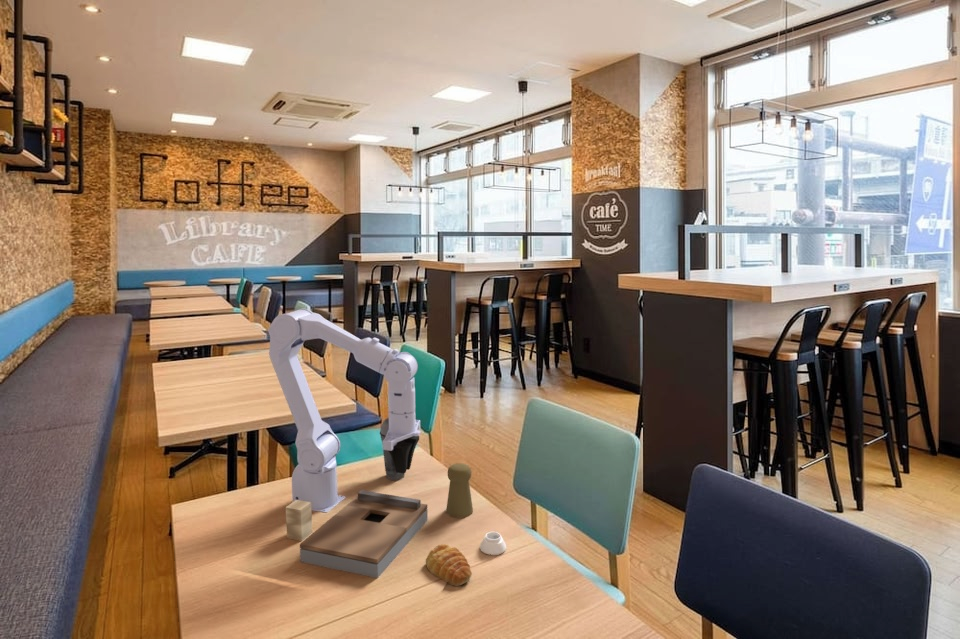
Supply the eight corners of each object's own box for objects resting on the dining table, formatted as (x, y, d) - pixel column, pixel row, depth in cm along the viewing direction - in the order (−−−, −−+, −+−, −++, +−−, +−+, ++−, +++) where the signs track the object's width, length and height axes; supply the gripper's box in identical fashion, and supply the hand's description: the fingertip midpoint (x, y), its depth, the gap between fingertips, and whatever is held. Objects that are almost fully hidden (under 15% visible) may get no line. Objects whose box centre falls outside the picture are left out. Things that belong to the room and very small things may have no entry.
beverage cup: (376, 481, 146) (374, 402, 143) (386, 469, 153) (384, 394, 150) (405, 483, 145) (403, 404, 142) (413, 471, 152) (412, 395, 149)
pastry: (481, 579, 106) (481, 560, 105) (449, 593, 102) (449, 573, 101) (451, 556, 113) (451, 537, 113) (421, 568, 109) (421, 549, 109)
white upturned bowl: (475, 548, 116) (490, 559, 112) (475, 534, 116) (490, 545, 112) (495, 540, 119) (511, 551, 115) (495, 526, 119) (511, 537, 115)
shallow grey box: (300, 564, 110) (300, 549, 110) (360, 510, 131) (360, 497, 130) (377, 580, 105) (377, 564, 105) (427, 522, 126) (427, 509, 125)
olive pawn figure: (474, 507, 133) (474, 460, 131) (471, 520, 127) (471, 471, 125) (448, 506, 133) (447, 459, 131) (443, 519, 127) (443, 470, 125)
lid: (300, 548, 110) (299, 536, 109) (360, 497, 130) (360, 487, 130) (377, 563, 105) (377, 551, 104) (427, 508, 125) (427, 497, 125)
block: (287, 540, 118) (285, 507, 117) (297, 531, 122) (296, 499, 121) (302, 543, 117) (300, 510, 116) (312, 534, 121) (311, 502, 120)
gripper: (404, 422, 119) (405, 486, 121) (432, 402, 133) (433, 460, 135) (372, 419, 121) (374, 481, 123) (403, 399, 135) (404, 456, 137)
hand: (403, 470), depth 129 cm, fingers closed
